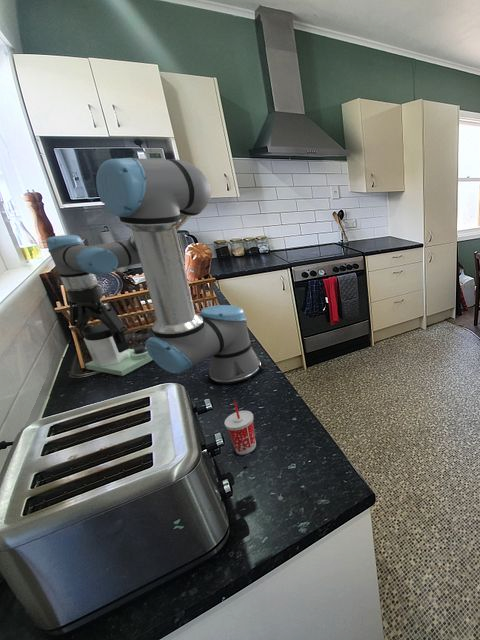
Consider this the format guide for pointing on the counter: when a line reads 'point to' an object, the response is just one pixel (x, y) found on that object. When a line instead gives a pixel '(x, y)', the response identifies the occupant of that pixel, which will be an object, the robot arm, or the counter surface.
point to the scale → (123, 363)
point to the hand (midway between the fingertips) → (107, 348)
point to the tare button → (139, 349)
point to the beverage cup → (241, 430)
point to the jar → (102, 345)
